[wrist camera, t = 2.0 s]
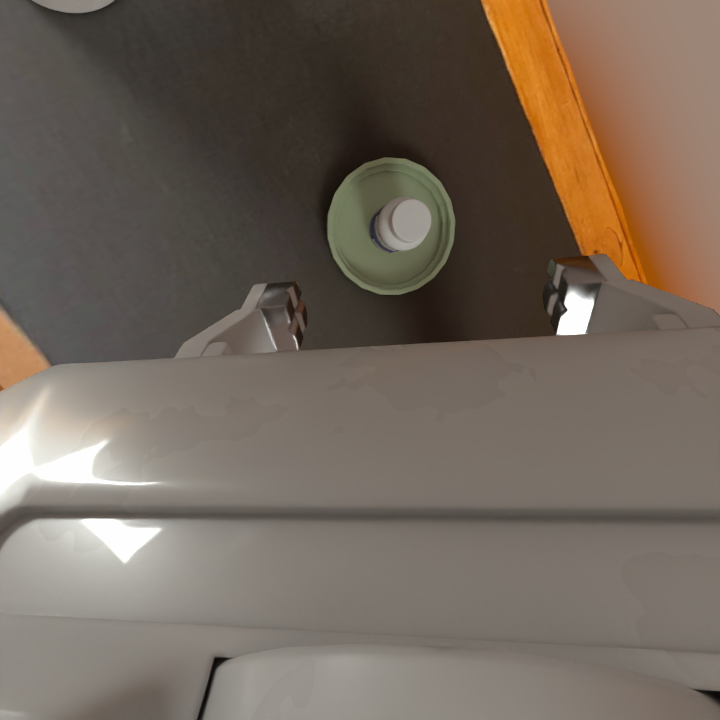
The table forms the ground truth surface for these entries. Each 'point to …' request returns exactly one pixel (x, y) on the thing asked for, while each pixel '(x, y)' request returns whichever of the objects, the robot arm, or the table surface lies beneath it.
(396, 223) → the pill bottle
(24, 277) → the table surface
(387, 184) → the dish
